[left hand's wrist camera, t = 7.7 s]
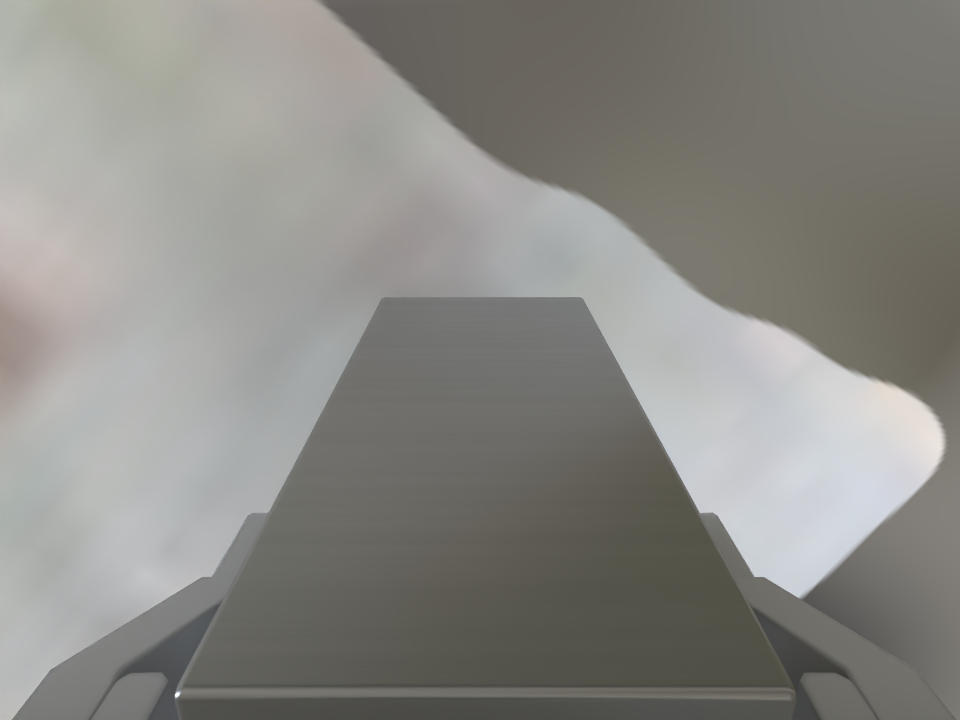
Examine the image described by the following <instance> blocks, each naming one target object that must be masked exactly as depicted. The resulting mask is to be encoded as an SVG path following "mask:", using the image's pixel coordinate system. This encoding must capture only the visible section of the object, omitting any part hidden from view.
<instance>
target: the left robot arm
mask: <svg viewBox="0 0 960 720" xmlns="http://www.w3.org/2000/svg"><path fill="white" fill-rule="evenodd" d="M267 515H268V513H252V514H250V515H248V516H247V517H246V519H245V521H244V522H243V524H242V526H241V527H240V529H239V531H238V533H237V534H236V536H235V538H234V539H233V541H232V543H231V545H230V546H229V548H228V550H227V551H226V553H225V555H224V557H223V558H222V560H221V562H220V563H219V565H218V567H217V569H216V570H215V572H214V574H213V575H212V577H202V578H200V579H199V580H197V581H195V582H194V583H192V584H190V585H189V586H187V587H185V588H184V589H182V590H181V591H179V592H177V593H176V594H174V595H172V596H171V597H169V598H167V599H166V600H164V601H163V602H161V603H159V604H158V605H156V606H154V607H153V608H151V609H149V610H148V611H146V612H145V613H143V614H141V615H140V616H138V617H136V618H135V619H133V620H131V621H130V622H128V623H127V624H125V625H123V626H122V627H120V628H118V629H117V630H115V631H113V632H112V633H110V634H109V635H107V636H105V637H104V638H102V639H100V640H99V641H97V642H95V643H94V644H92V645H91V646H89V647H87V648H86V649H84V650H82V651H81V652H79V653H77V654H76V655H74V656H73V657H71V658H69V659H68V660H66V661H64V662H63V663H61V664H59V665H58V666H56V667H55V668H53V669H51V670H50V671H49V673H48V674H47V675H46V677H45V678H44V679H43V681H42V682H41V683H40V684H39V686H38V687H37V688H36V690H35V691H34V692H33V693H32V695H31V696H30V697H29V699H28V700H27V701H26V702H25V704H24V705H23V706H22V708H21V709H20V710H19V711H18V713H17V714H16V715H15V717H14V718H13V719H12V720H180V719H179V715H178V711H177V707H176V703H175V691H176V688H177V686H178V684H179V682H180V680H181V678H182V676H183V674H184V672H185V670H186V668H187V667H188V665H189V663H190V661H191V659H192V657H193V655H194V653H195V651H196V650H197V648H198V646H199V644H200V642H201V640H202V638H203V636H204V634H205V633H206V631H207V629H208V627H209V625H210V623H211V621H212V619H213V617H214V616H215V614H216V612H217V610H218V608H219V606H220V604H221V602H222V600H223V599H224V597H225V595H226V593H227V591H228V589H229V587H230V585H231V583H232V581H233V580H234V578H235V576H236V574H237V572H238V570H239V568H240V566H241V564H242V563H243V561H244V559H245V557H246V555H247V553H248V551H249V549H250V547H251V546H252V544H253V542H254V540H255V538H256V536H257V534H258V532H259V530H260V529H261V527H262V525H263V523H264V521H265V519H266V517H267ZM700 515H701V517H702V518H703V520H704V522H705V524H706V526H707V528H708V529H709V531H710V533H711V535H712V537H713V539H714V540H715V542H716V544H717V546H718V548H719V550H720V551H721V553H722V555H723V557H724V559H725V561H726V562H727V564H728V566H729V568H730V570H731V572H732V573H733V575H734V577H735V579H736V581H737V583H738V584H739V586H740V588H741V590H742V592H743V594H744V595H745V597H746V599H747V601H748V603H749V605H750V606H751V608H752V610H753V612H754V614H755V616H756V617H757V619H758V621H759V623H760V625H761V627H762V628H763V630H764V632H765V634H766V636H767V638H768V639H769V641H770V643H771V645H772V647H773V648H774V650H775V652H776V654H777V656H778V658H779V659H780V661H781V663H782V665H783V667H784V669H785V670H786V672H787V674H788V676H789V678H790V680H791V681H792V683H793V685H794V688H795V691H796V704H795V708H794V712H793V716H792V720H956V719H955V717H954V716H953V715H952V714H951V712H950V711H949V710H948V709H947V707H946V706H945V705H944V703H943V702H942V701H941V700H940V698H939V697H938V696H937V695H936V693H935V692H934V691H933V689H932V688H931V687H930V686H929V684H928V683H927V682H926V681H925V679H924V678H923V677H922V675H921V674H920V673H919V672H918V671H917V670H916V669H914V668H912V667H911V666H909V665H907V664H906V663H904V662H903V661H901V660H899V659H898V658H896V657H894V656H893V655H891V654H889V653H888V652H886V651H884V650H883V649H881V648H880V647H878V646H876V645H875V644H873V643H871V642H870V641H868V640H866V639H865V638H863V637H861V636H860V635H858V634H856V633H855V632H853V631H851V630H850V629H848V628H847V627H845V626H843V625H842V624H840V623H838V622H837V621H835V620H833V619H832V618H830V617H828V616H827V615H825V614H824V613H822V612H820V611H819V610H817V609H815V608H814V607H812V606H810V605H809V604H807V603H805V602H804V601H802V600H801V599H799V598H797V597H796V596H794V595H792V594H791V593H789V592H787V591H786V590H784V589H782V588H781V587H779V586H777V585H776V584H774V583H773V582H771V581H769V580H768V579H766V578H764V577H754V575H753V574H752V572H751V570H750V569H749V567H748V565H747V564H746V562H745V560H744V559H743V557H742V555H741V554H740V552H739V550H738V549H737V547H736V546H735V544H734V542H733V541H732V539H731V537H730V536H729V534H728V532H727V531H726V529H725V527H724V526H723V524H722V522H721V521H720V519H719V517H718V516H717V515H716V514H714V513H700Z"/></svg>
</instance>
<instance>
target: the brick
mask: <svg viewBox="0 0 960 720" xmlns="http://www.w3.org/2000/svg"><path fill="white" fill-rule="evenodd" d="M175 703H176V707H177V711H178V715H179V719H180V720H792V716H793V712H794V708H795V704H796V691H795V688H794V685H793V683H792V681H791V680H790V678H789V676H788V674H787V672H786V670H785V669H784V667H783V665H782V663H781V661H780V659H779V658H778V656H777V654H776V652H775V650H774V648H773V647H772V645H771V643H770V641H769V639H768V638H767V636H766V634H765V632H764V630H763V628H762V627H761V625H760V623H759V621H758V619H757V617H756V616H755V614H754V612H753V610H752V608H751V606H750V605H749V603H748V601H747V599H746V597H745V595H744V594H743V592H742V590H741V588H740V586H739V584H738V583H737V581H736V579H735V577H734V575H733V573H732V572H731V570H730V568H729V566H728V564H727V562H726V561H725V559H724V557H723V555H722V553H721V551H720V550H719V548H718V546H717V544H716V542H715V540H714V539H713V537H712V535H711V533H710V531H709V529H708V528H707V526H706V524H705V522H704V520H703V518H702V517H701V515H700V513H699V511H698V509H697V507H696V506H695V504H694V502H693V500H692V498H691V496H690V495H689V493H688V491H687V489H686V487H685V485H684V484H683V482H682V480H681V478H680V476H679V474H678V473H677V471H676V469H675V467H674V465H673V463H672V462H671V460H670V458H669V456H668V454H667V452H666V451H665V449H664V447H663V445H662V443H661V441H660V440H659V438H658V436H657V434H656V432H655V430H654V429H653V427H652V425H651V423H650V421H649V419H648V418H647V416H646V414H645V412H644V410H643V408H642V407H641V405H640V403H639V401H638V399H637V397H636V396H635V394H634V392H633V390H632V388H631V386H630V385H629V383H628V381H627V379H626V377H625V375H624V374H623V372H622V370H621V368H620V366H619V364H618V363H617V361H616V359H615V357H614V355H613V353H612V352H611V350H610V348H609V346H608V344H607V342H606V341H605V339H604V337H603V335H602V333H601V331H600V330H599V328H598V326H597V324H596V322H595V320H594V319H593V317H592V315H591V313H590V311H589V309H588V308H587V306H586V304H585V302H584V300H583V299H582V298H383V299H382V300H381V302H380V303H379V305H378V307H377V309H376V311H375V313H374V315H373V317H372V319H371V320H370V322H369V324H368V326H367V328H366V330H365V332H364V334H363V336H362V338H361V339H360V341H359V343H358V345H357V347H356V349H355V351H354V353H353V355H352V356H351V358H350V360H349V362H348V364H347V366H346V368H345V370H344V372H343V373H342V375H341V377H340V379H339V381H338V383H337V385H336V387H335V389H334V390H333V392H332V394H331V396H330V398H329V400H328V402H327V404H326V406H325V407H324V409H323V411H322V413H321V415H320V417H319V419H318V421H317V423H316V425H315V426H314V428H313V430H312V432H311V434H310V436H309V438H308V440H307V442H306V443H305V445H304V447H303V449H302V451H301V453H300V455H299V457H298V459H297V460H296V462H295V464H294V466H293V468H292V470H291V472H290V474H289V476H288V477H287V479H286V481H285V483H284V485H283V487H282V489H281V491H280V493H279V494H278V496H277V498H276V500H275V502H274V504H273V506H272V508H271V510H270V512H269V513H268V515H267V517H266V519H265V521H264V523H263V525H262V527H261V529H260V530H259V532H258V534H257V536H256V538H255V540H254V542H253V544H252V546H251V547H250V549H249V551H248V553H247V555H246V557H245V559H244V561H243V563H242V564H241V566H240V568H239V570H238V572H237V574H236V576H235V578H234V580H233V581H232V583H231V585H230V587H229V589H228V591H227V593H226V595H225V597H224V599H223V600H222V602H221V604H220V606H219V608H218V610H217V612H216V614H215V616H214V617H213V619H212V621H211V623H210V625H209V627H208V629H207V631H206V633H205V634H204V636H203V638H202V640H201V642H200V644H199V646H198V648H197V650H196V651H195V653H194V655H193V657H192V659H191V661H190V663H189V665H188V667H187V668H186V670H185V672H184V674H183V676H182V678H181V680H180V682H179V684H178V686H177V688H176V691H175Z"/></svg>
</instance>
